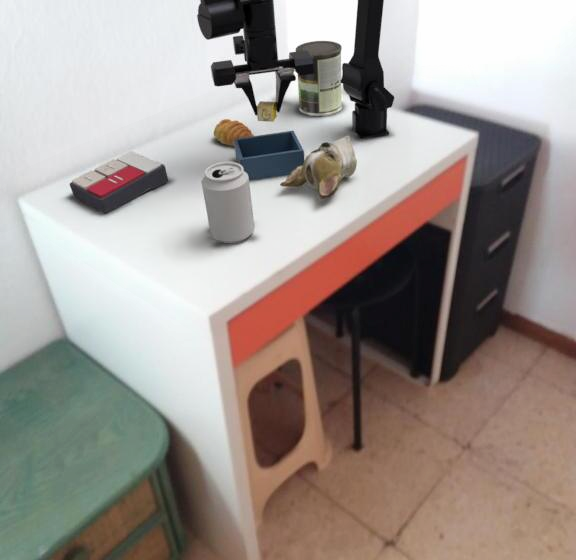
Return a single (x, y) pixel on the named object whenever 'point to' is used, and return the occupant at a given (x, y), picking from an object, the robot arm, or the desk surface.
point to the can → (228, 202)
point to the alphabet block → (266, 111)
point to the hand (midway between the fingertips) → (267, 113)
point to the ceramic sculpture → (325, 167)
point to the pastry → (231, 131)
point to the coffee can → (321, 80)
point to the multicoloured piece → (118, 181)
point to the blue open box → (269, 154)
